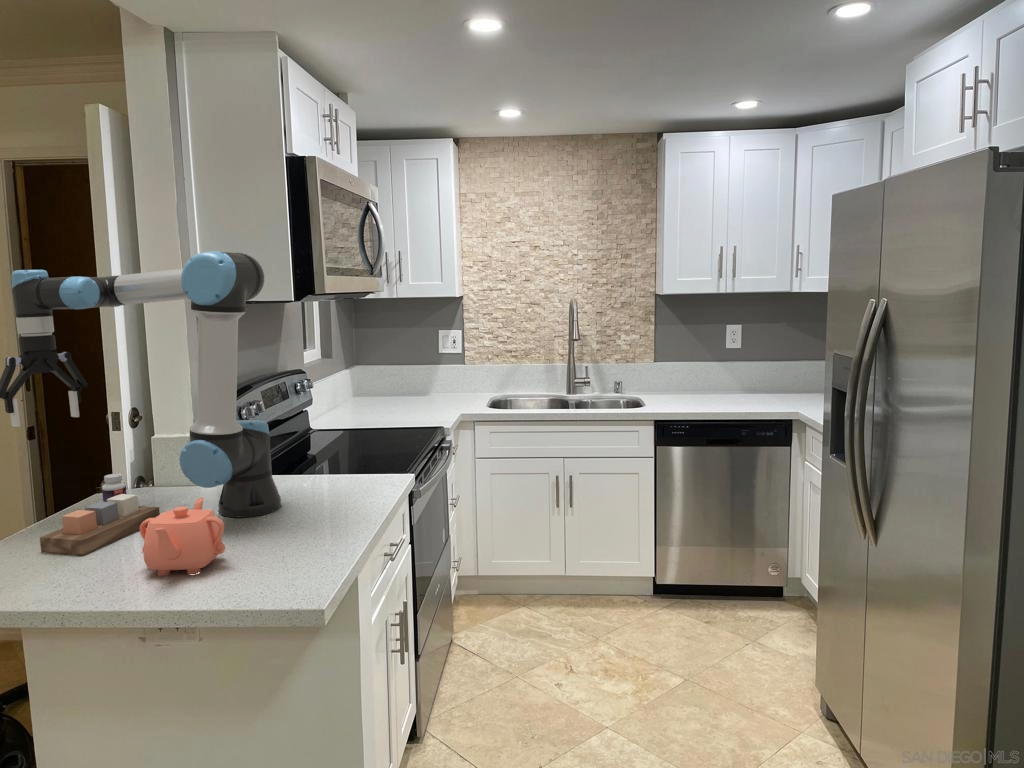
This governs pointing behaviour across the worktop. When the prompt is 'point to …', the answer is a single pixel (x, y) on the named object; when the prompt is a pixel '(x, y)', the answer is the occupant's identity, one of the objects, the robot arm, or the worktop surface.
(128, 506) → the cream cube
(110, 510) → the slate key
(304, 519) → the worktop surface
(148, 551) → the teapot
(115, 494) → the pill bottle
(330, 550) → the worktop surface
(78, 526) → the salmon orange cube
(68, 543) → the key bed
